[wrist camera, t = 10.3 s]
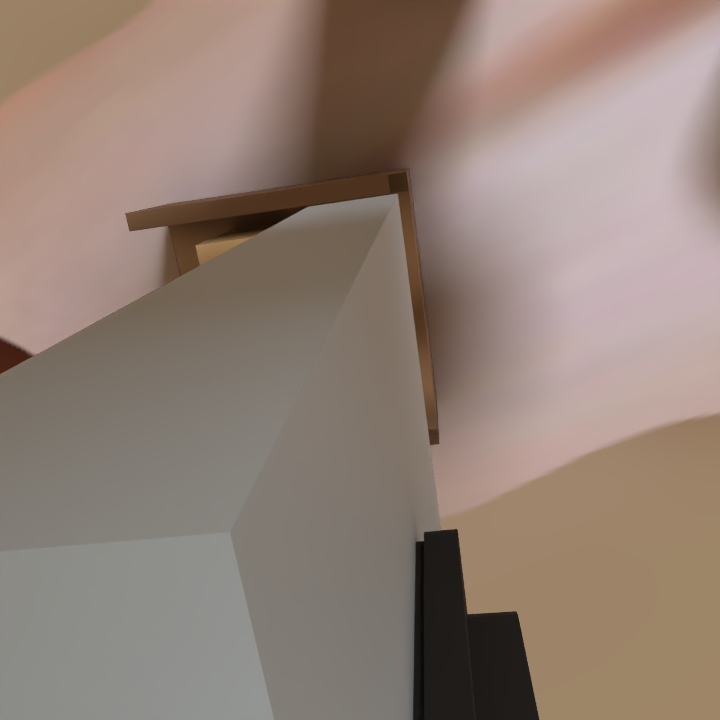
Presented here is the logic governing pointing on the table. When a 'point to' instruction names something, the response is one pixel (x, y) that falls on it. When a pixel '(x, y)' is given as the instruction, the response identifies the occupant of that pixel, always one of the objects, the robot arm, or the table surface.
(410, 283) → the walnut rack
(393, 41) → the table surface
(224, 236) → the tall pine offcut
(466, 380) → the table surface
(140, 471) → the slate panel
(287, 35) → the table surface
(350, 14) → the table surface
